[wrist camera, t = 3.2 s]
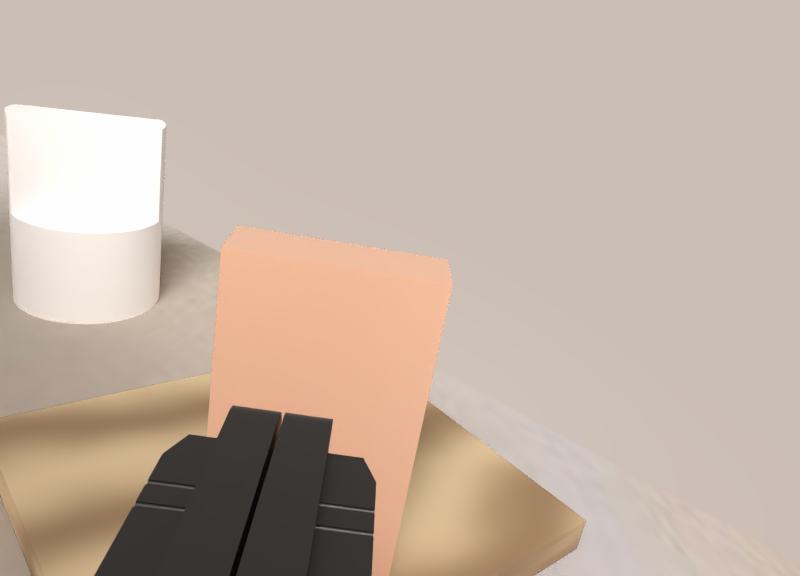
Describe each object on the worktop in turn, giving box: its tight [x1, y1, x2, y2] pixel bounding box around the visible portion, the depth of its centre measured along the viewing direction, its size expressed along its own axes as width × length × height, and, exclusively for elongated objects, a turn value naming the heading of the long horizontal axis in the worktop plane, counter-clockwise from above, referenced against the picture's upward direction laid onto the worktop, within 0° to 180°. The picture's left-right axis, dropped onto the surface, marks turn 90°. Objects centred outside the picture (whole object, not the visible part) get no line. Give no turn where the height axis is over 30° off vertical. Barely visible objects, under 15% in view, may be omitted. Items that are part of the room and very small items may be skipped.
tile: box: [207, 225, 453, 576], centre depth 23 cm, size 2×7×12 cm, turn 90°
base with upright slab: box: [4, 104, 166, 324], centre depth 43 cm, size 9×9×12 cm
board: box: [0, 373, 586, 576], centre depth 30 cm, size 18×20×2 cm
